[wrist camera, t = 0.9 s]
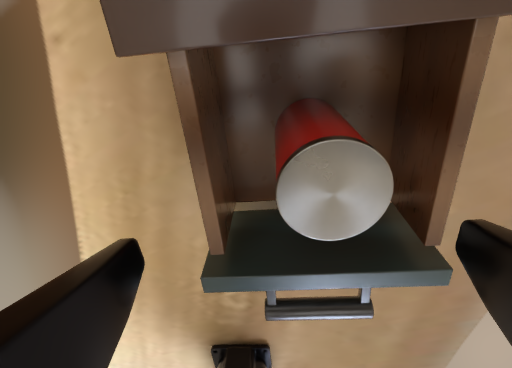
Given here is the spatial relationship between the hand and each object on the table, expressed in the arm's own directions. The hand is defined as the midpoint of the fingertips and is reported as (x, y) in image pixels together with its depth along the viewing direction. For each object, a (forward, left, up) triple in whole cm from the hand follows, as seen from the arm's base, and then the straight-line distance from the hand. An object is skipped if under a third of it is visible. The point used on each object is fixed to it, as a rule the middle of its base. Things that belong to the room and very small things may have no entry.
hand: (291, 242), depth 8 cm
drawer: (-2, -2, -12) cm, 12 cm away
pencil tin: (0, -2, -11) cm, 11 cm away
